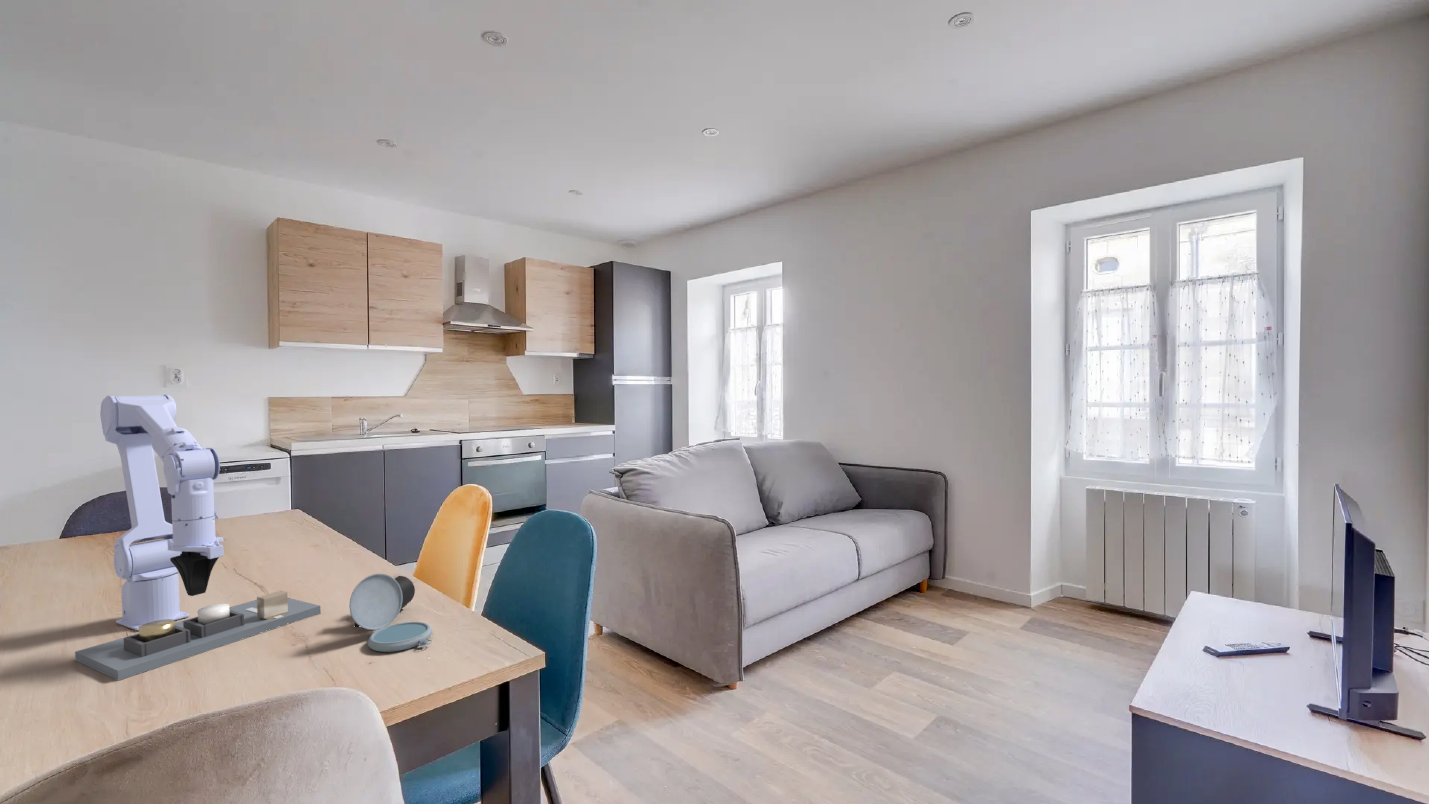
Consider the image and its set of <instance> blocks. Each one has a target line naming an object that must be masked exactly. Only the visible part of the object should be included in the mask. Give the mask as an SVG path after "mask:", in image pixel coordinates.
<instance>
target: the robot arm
mask: <svg viewBox="0 0 1429 804" xmlns="http://www.w3.org/2000/svg"><path fill="white" fill-rule="evenodd" d="M177 413H178V412H177V404H176V401H175V399H174V398H173V397H172V396H171V395H170V394H162V395H157V394H156V395H116V396H115V395H110V394H109V395H106V396H105V397H104V398H103V399H102V401H101V404H100V420H101V421H100V422H101V429H102V433H103V436H104V439H105V440H104V441H106V442H107V443H112V444H114V445H116V447H117V449H118V452H119V456H120V461H121V467H122V469H121V470H122V474H123V481H124V486H125V492H126V494H125V495H126V498H127V507H128V511H129V517H130V525H131V528H130V529H128V530H126V532H124V533H122V534H121V535H120V536H119V537H118V538H117V539H116V540H115V542H114V544H113V551H114V555H113V567H114V570H115V574H116V576H117V577H119V578H120V579H122V580H125V582H124V583H123V585H122V587H121V591H120V592H121V612H122V618H119V619H116V620H115V623H116V624H118V625H121V626H124V627H126V628H129V629H132V630H135V631H139V627H140V626H142V625H144V624H146V623H149V622H153V621H157V620H164V619H173V620H174V621H177V620H180V619H185V618H188V617H190V616H191V614H190V613H188V612H185V611H182V610H181V607H180V581H179V579H180V578H181V580H182V584H183V586H184V588H185V592H186V594H187V596H189V597H194V596H198V595H201V594H205V593H206V591H207V588H208V585H209V581H210V577H211V574H212V571H213V569H214V566H215V565H216V562H217V561H218V559H219V558H221V557H224V556H225V553H224V552H225V551H224V545H223V544H221V543H222V542H224V537H222V536H216V517H215V516H216V514H215V513H216V512H215V488H214V486H215V485H214V484H215V483H214V480H216V479H218V477H219V475H220V468H221V464H220V463H221V462H220V458H219V455H218V453H217V451H216V449H215V448H213V447H207V446H203V447H202V446H201V445H200V443H199V442H198V441H197V440H196V438H195V437H194V435H193V434H192V433H191V432H190V431H189V430H187V429H186V428H184V427H178V425H177V423H176V422H175V420H176V418H177ZM154 452H155V453H156V455H157V456H158V457H159V459H160V460H161V462H162V463H163V475H164V478H165V481H166V489H167V493H168V494H169V495H170V496H171V497H170V499H171V502H170V504H171V521H172V522H171V523H170V522H168V521H166V519H165V513H164V512H165V511H164V508H163V502H162V501H163V500H162V497H161V496H162V495H161V490H160V482H159V477H158V472H157V465H156V459H155V453H154ZM179 576H180V578H179Z"/></svg>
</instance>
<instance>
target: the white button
mask: <svg viewBox="0 0 1429 804" xmlns="http://www.w3.org/2000/svg"><path fill="white" fill-rule="evenodd" d="M229 607H230V604H229V603H218V604H213V605H208V606H207V605H206V606H205V607H204V606H203V607H202V608H199V609H198V610H197V617H198V623H199V624H209V623H213V622H216V621H219V620H223V619H226V618H229V617H230V610H229Z"/></svg>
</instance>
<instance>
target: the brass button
mask: <svg viewBox="0 0 1429 804" xmlns="http://www.w3.org/2000/svg"><path fill="white" fill-rule="evenodd" d="M175 623H176V622H175V620H173V619H164V620H157V621H153V622H149V623H146V624H144V625H142V626H140V627H139V630H138V633H139V640H140V641H152V640H156V639H159V638H162V637H166V636H169V635H173V634H174V633H175Z"/></svg>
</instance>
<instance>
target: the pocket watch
mask: <svg viewBox="0 0 1429 804" xmlns="http://www.w3.org/2000/svg"><path fill="white" fill-rule="evenodd" d="M402 599H403V597H402V590H401V588H400V585H399V584H398V582H397V581H396V580H395V577H393V576H391V575H388V574H387V573H374V574H373V573H372V574H370V575H368V576H366V577H364V578H363V579H361V580H360V581H359V582H358V583H357V584H356V586H355V588H354V589H353V591H352V593H351V595H350V599H349V612H350V615H351V618H352V620H353V621H354V623H357V624H358V625H359V626H361V627H360V628H363V629H364V630H368V631H372V634H371V635H370V637H369V638H368V640H367V645H368V647H369V648H370V650H372V651H375V652H376V651H377V652H380V653H394V652H400V651H405V650H409V649H412V648H414V647H415V648H416V647H418V646H419V647H424V646H427V645H430V644H431V643H433V640H432V639H430V638H431V637H432V634H433V628H432V627H431V626H430V625H429V623H426V622H421V621H406V622H399V623H394V624H391V623H392V622H394V620H395V619H397V617H398V615H399V613H400V612H401V610H402V609H401V606H402ZM400 609H401V610H400Z"/></svg>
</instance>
